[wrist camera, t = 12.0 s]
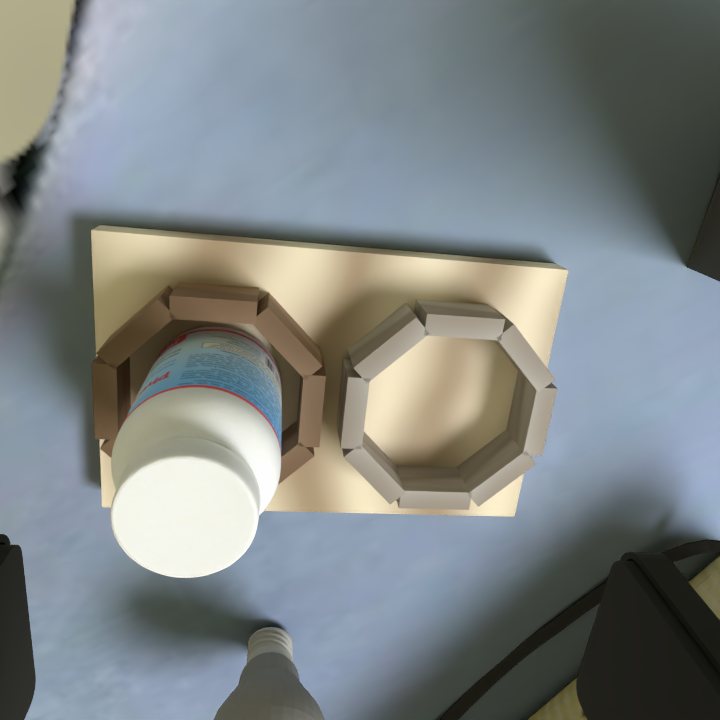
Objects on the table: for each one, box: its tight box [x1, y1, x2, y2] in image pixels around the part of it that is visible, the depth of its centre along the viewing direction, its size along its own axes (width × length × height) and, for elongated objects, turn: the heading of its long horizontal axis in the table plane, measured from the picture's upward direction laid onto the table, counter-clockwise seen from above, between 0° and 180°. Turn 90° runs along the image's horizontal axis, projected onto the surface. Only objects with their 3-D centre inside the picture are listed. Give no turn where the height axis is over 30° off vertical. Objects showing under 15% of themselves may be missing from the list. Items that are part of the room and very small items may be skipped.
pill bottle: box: [110, 327, 282, 578], centre depth 25 cm, size 6×6×11 cm
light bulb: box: [214, 627, 324, 720], centre depth 33 cm, size 6×6×10 cm
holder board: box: [91, 225, 569, 516], centre depth 31 cm, size 22×14×4 cm, turn 84°
